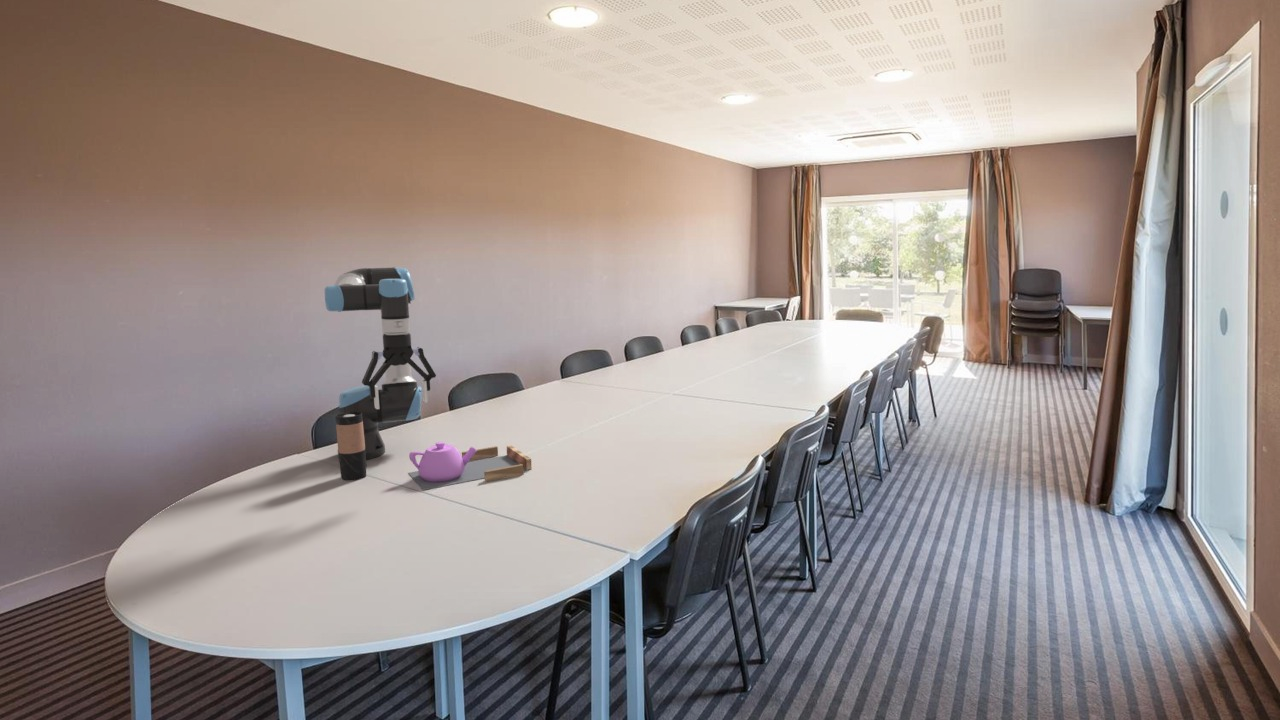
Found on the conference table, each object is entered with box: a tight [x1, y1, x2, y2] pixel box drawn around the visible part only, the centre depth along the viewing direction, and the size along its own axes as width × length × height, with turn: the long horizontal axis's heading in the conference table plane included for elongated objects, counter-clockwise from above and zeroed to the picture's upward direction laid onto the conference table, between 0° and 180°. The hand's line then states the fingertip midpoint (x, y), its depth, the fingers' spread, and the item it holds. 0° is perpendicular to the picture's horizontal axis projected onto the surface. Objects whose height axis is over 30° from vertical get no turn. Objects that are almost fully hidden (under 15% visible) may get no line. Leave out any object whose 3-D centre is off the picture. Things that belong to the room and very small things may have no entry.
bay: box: [461, 444, 533, 483], centre depth 209 cm, size 24×16×4 cm, turn 32°
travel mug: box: [335, 412, 367, 482], centre depth 198 cm, size 8×8×20 cm
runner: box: [408, 454, 531, 491], centre depth 204 cm, size 18×34×1 cm, turn 122°
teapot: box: [408, 441, 477, 482], centre depth 199 cm, size 14×20×11 cm
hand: (401, 405), depth 188 cm, fingers open, 13 cm apart
